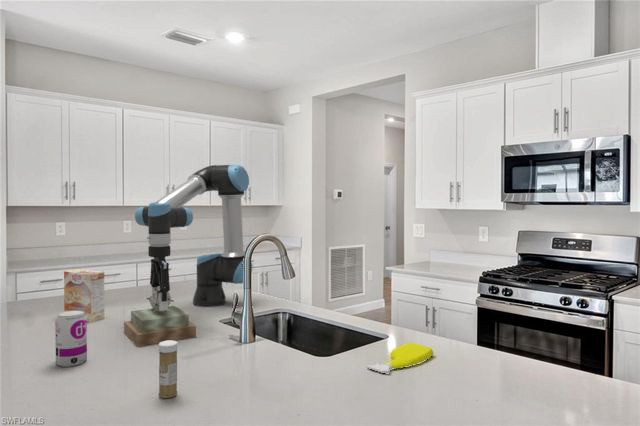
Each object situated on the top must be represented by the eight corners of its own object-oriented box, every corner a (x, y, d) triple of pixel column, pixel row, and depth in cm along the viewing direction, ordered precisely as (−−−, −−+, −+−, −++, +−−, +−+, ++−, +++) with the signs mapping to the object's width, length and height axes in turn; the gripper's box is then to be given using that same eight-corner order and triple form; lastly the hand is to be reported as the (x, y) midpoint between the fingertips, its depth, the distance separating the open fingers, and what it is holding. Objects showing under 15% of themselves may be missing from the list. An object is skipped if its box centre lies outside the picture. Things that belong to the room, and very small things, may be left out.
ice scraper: (436, 358, 147) (393, 381, 129) (407, 349, 154) (362, 370, 136) (436, 348, 147) (393, 370, 129) (407, 341, 154) (362, 360, 136)
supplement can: (92, 360, 140) (92, 311, 140) (68, 369, 133) (67, 317, 133) (74, 356, 144) (74, 308, 143) (49, 364, 136) (49, 314, 136)
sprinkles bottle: (155, 395, 116) (154, 342, 116) (171, 389, 120) (171, 338, 119) (165, 400, 113) (164, 346, 113) (181, 394, 117) (181, 342, 116)
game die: (165, 319, 169) (182, 296, 171) (157, 317, 161) (175, 293, 163) (146, 306, 171) (163, 283, 173) (137, 303, 162) (155, 279, 165)
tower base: (178, 324, 181) (178, 303, 181) (196, 337, 165) (196, 314, 164) (124, 332, 170) (123, 310, 169) (137, 347, 153) (137, 323, 153)
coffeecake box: (63, 318, 188) (63, 271, 187) (78, 314, 194) (78, 268, 194) (90, 322, 182) (90, 273, 181) (105, 318, 189) (105, 271, 188)
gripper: (141, 243, 173) (141, 303, 173) (157, 248, 155) (157, 315, 156) (161, 242, 177) (161, 300, 178) (179, 247, 160) (179, 312, 160)
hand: (159, 307), depth 167 cm, fingers open, 9 cm apart
